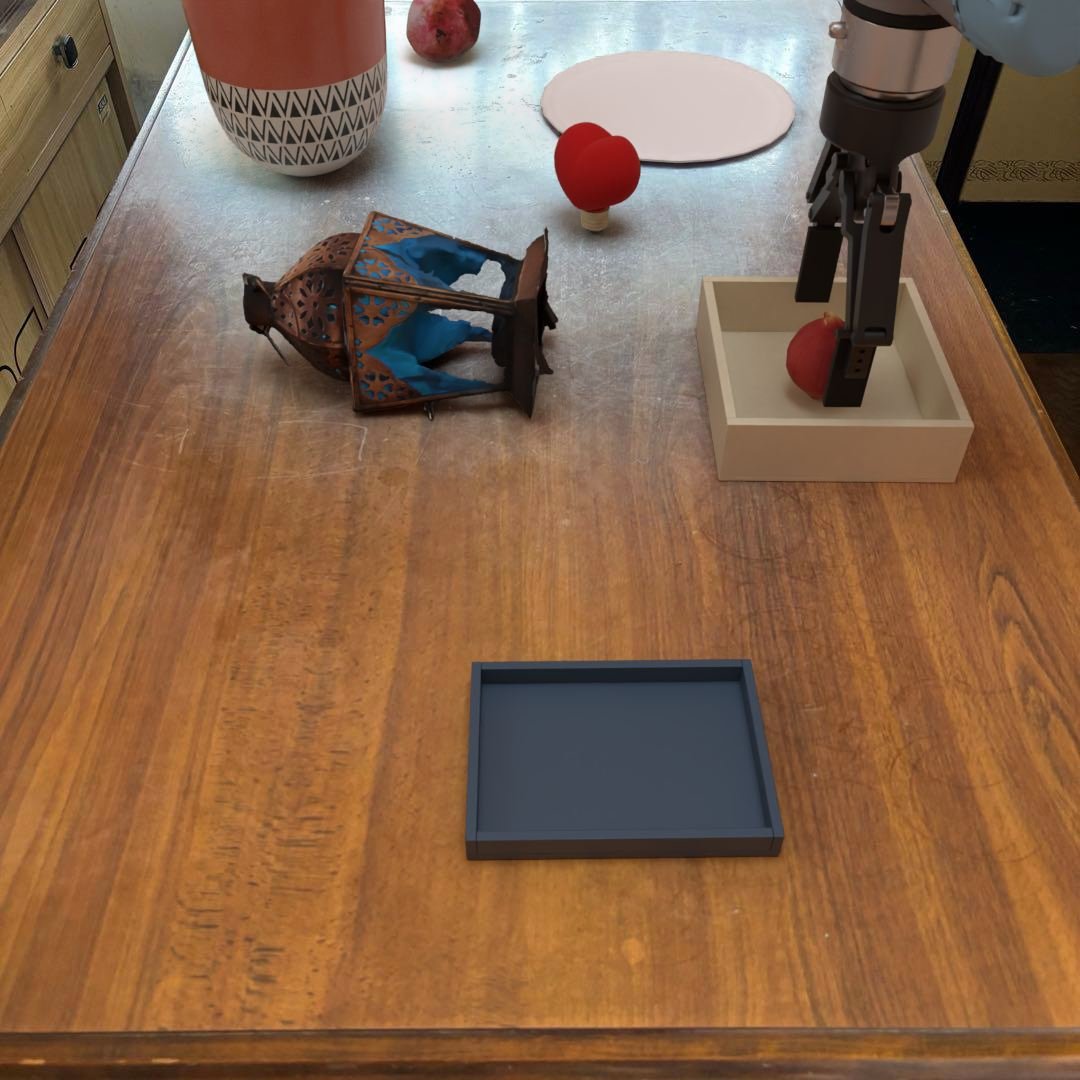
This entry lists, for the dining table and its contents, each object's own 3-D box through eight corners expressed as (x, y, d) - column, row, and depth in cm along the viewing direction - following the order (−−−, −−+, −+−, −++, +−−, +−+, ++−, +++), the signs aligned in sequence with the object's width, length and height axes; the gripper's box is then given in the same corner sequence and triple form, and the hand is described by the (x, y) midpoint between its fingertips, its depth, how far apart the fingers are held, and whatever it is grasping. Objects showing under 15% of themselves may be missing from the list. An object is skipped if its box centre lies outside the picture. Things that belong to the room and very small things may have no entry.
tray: (746, 679, 69) (751, 658, 68) (779, 856, 61) (785, 836, 59) (473, 682, 69) (471, 661, 68) (466, 860, 61) (464, 840, 59)
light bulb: (535, 225, 109) (535, 127, 102) (586, 201, 112) (589, 105, 105) (602, 262, 104) (607, 162, 97) (653, 236, 107) (661, 137, 100)
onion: (837, 371, 91) (857, 287, 86) (863, 414, 87) (886, 330, 82) (769, 378, 91) (785, 294, 85) (793, 422, 87) (811, 337, 81)
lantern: (549, 431, 96) (263, 410, 96) (563, 243, 95) (273, 221, 95) (552, 427, 80) (207, 402, 80) (568, 199, 79) (218, 173, 78)
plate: (733, 194, 113) (735, 183, 112) (492, 130, 123) (492, 119, 123) (830, 90, 131) (832, 80, 130) (612, 41, 141) (612, 31, 140)
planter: (180, 188, 114) (125, -34, 99) (277, 111, 127) (241, -96, 111) (348, 223, 109) (317, -6, 94) (431, 139, 122) (416, -74, 107)
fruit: (494, 49, 140) (492, -36, 132) (460, 77, 133) (456, -10, 126) (431, 37, 142) (425, -46, 135) (394, 65, 136) (386, -22, 129)
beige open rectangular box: (954, 482, 82) (974, 426, 78) (718, 480, 82) (727, 424, 79) (897, 331, 96) (912, 277, 92) (695, 329, 96) (702, 275, 92)
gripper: (799, 3, 79) (757, 262, 95) (867, 169, 62) (802, 454, 77) (903, 4, 79) (844, 263, 95) (1001, 170, 62) (909, 455, 77)
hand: (825, 349), depth 86 cm, fingers open, 13 cm apart
